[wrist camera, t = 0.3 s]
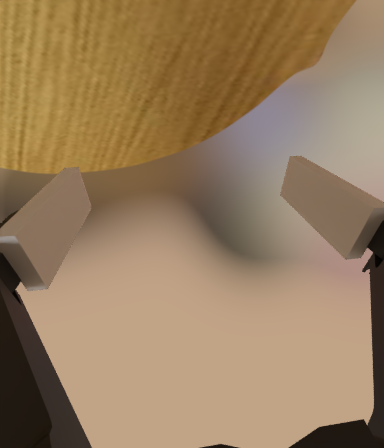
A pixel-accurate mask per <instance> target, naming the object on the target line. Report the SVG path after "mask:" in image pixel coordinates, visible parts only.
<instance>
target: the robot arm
mask: <svg viewBox="0 0 384 448" xmlns="http://www.w3.org/2000/svg"><path fill="white" fill-rule="evenodd" d="M280 195H281V196H282V197H283V198H284V199H285V200H286V201H287V202H288V203H289V204H290V205H291V206H292V207H293V208H294V209H295V210H296V211H297V212H298V213H299V214H300V215H301V216H302V217H303V218H304V219H305V220H306V221H307V222H308V223H309V224H310V225H311V226H312V227H313V228H314V229H315V230H316V231H317V232H319V234H320V235H321V236H322V237H323V238H324V239H325V240H326V241H328V242H329V243H330V245H332V246H333V247H334V248H335V249H336V250H337V251H338V252H339V253H340V254H341V255H342V256H343V257H344V258H345V259H355V258H361V257H362V255H363V254H364V252H365V250H366V249H367V248H369V249H370V250H371V251H372V252H373V254H372V256H371V257H370V259H369V260H368V262H367V264H366V265H365V267H364V268H363V270H362V272H365V271H366V270H368V269H370V273H369V274H370V290H371V319H372V350H373V380H374V409H373V414H372V416H371V418H370V420H369V423H368V426H367V425H366V423H365V421H364V419H363V420H357V421H351V422H346V423H340V424H334V425H328V426H322V427H319V428H317V429H316V430H314V431H313V432H311V433H310V434H308V435H307V436H305V437H304V438H302V439H301V440H299V441H298V442H296V443H295V444H293V445H292V446H291V447H289V448H384V202H382V201H381V200H379V199H377V198H375V197H373V196H372V195H370V194H368V193H366V192H364V191H363V190H361V189H359V188H357V187H355V186H354V185H352V184H350V183H348V182H347V181H345V180H343V179H341V178H340V177H338V176H336V175H334V174H332V173H330V172H329V171H327V170H325V169H323V168H322V167H320V166H318V165H316V164H315V163H313V162H311V161H309V160H307V159H306V158H304V157H302V156H293V157H292V156H290V158H289V162H288V166H287V170H286V174H285V178H284V182H283V186H282V190H281V194H280ZM91 208H92V207H91V204H90V201H89V198H88V195H87V192H86V189H85V186H84V183H83V180H82V177H81V173H80V170H79V167H74V168H64V169H63V170H62V171H61V172H60V173H59V174H58V175H57V176H56V177H55V178H54V179H53V180H52V181H50V182H49V183H48V184H47V185H46V186H45V187H44V188H43V189H42V190H41V191H40V192H39V193H38V194H36V195H35V196H34V197H33V198H32V199H31V200H30V201H29V202H28V203H27V204H26V205H25V206H24V207H22V209H20V210H18V211H16V212H14V213H13V214H11V215H9V216H8V217H7V218H6V219H5V220H4V221H3V223H0V448H92V447H91V445H90V443H89V441H88V439H87V437H86V434H85V432H84V430H83V428H82V426H81V424H80V422H79V420H78V418H77V415H76V413H75V411H74V409H73V407H72V405H71V403H70V401H69V399H68V397H67V395H66V392H65V390H64V388H63V386H62V384H61V382H60V380H59V377H58V375H57V373H56V371H55V369H54V367H53V365H52V363H51V360H50V358H49V356H48V354H47V352H46V350H45V348H44V346H43V344H42V342H41V339H40V337H39V335H38V333H37V331H36V329H35V327H34V325H33V322H32V320H31V318H30V316H29V314H28V312H27V310H26V308H25V306H24V304H23V301H22V299H21V297H20V295H19V294H18V292H17V291H16V290H15V289H16V288H17V286H18V285H19V283H20V282H22V283H23V285H24V286H25V287H26V289H27V290H28V291H33V290H43V289H48V288H49V286H50V284H51V282H52V280H53V278H54V276H55V275H56V273H57V271H58V269H59V267H60V265H61V264H62V262H63V260H64V258H65V256H66V254H67V253H68V251H69V248H70V247H71V245H72V243H73V241H74V240H75V238H76V236H77V234H78V232H79V230H80V228H81V227H82V225H83V223H84V221H85V219H86V217H87V215H88V213H89V212H90V210H91ZM202 448H238V447H233V446H228V445H223V444H219V445H213V446H207V447H202Z"/></svg>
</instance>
